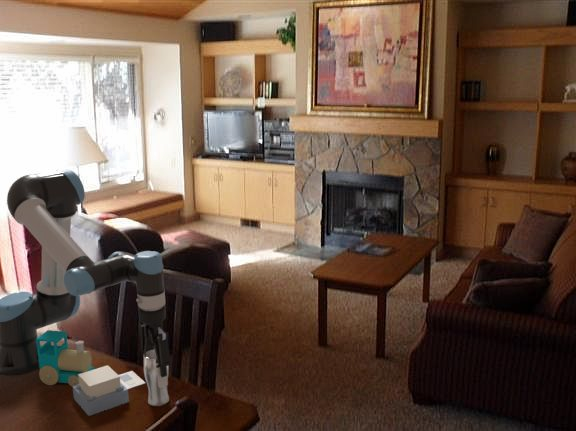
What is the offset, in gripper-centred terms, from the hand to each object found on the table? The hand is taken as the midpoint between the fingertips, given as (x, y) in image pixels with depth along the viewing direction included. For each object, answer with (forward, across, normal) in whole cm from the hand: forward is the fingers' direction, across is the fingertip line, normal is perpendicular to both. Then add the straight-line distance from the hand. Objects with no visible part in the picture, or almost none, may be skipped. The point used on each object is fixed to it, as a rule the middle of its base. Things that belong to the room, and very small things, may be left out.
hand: (157, 380), depth 179 cm
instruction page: (+7, -17, -2) cm, 18 cm away
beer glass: (+7, 0, 0) cm, 7 cm away
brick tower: (+7, -11, -13) cm, 18 cm away
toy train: (+7, -29, -16) cm, 33 cm away
